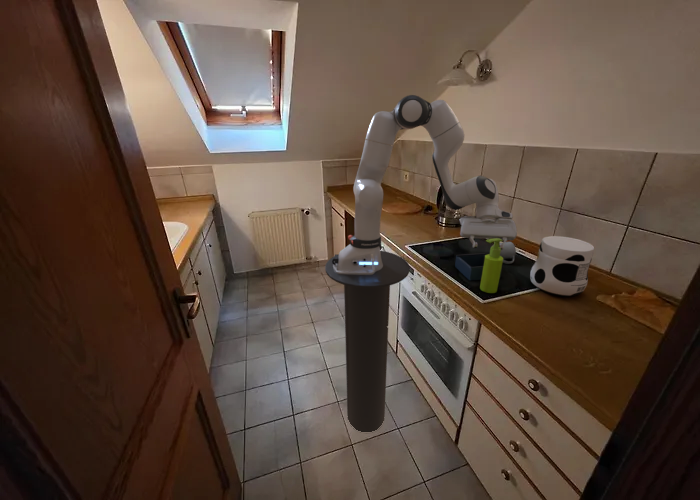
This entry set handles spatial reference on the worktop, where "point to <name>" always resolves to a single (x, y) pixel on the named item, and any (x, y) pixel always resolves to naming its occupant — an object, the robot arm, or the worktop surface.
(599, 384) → the worktop surface
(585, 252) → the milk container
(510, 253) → the ceramic mug
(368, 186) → the robot arm
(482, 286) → the soap dispenser
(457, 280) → the worktop surface
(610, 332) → the worktop surface
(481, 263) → the blue open box
